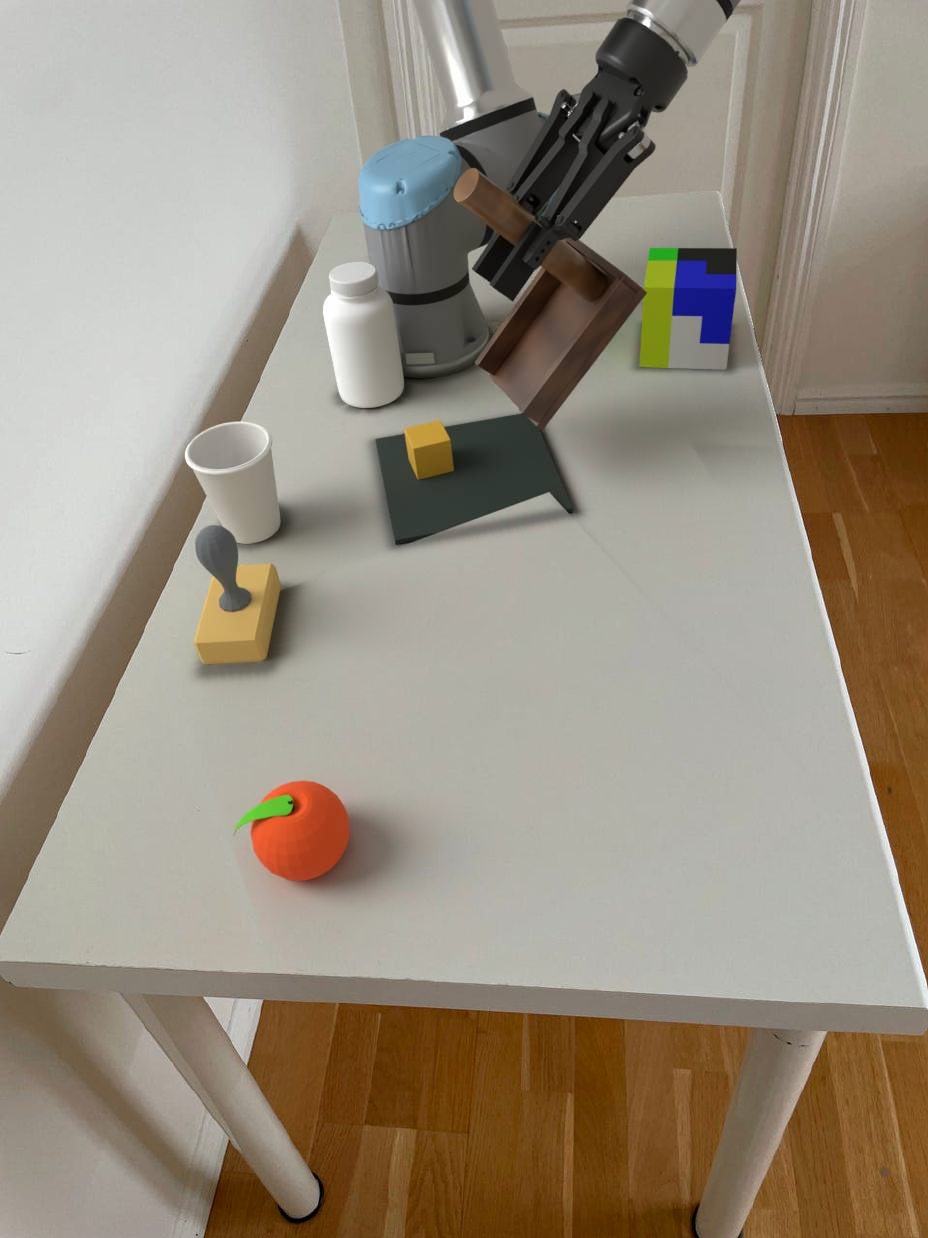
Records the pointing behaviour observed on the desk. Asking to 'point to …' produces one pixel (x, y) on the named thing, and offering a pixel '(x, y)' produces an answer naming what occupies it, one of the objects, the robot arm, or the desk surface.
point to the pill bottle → (362, 337)
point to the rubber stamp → (234, 602)
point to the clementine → (299, 830)
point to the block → (429, 449)
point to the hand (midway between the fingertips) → (492, 284)
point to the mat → (468, 476)
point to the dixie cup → (238, 478)
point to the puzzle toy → (688, 308)
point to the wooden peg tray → (548, 309)
